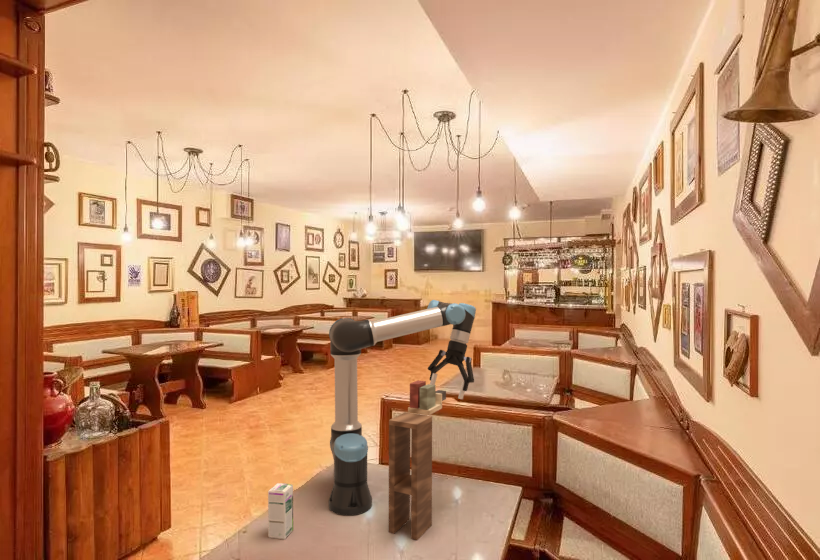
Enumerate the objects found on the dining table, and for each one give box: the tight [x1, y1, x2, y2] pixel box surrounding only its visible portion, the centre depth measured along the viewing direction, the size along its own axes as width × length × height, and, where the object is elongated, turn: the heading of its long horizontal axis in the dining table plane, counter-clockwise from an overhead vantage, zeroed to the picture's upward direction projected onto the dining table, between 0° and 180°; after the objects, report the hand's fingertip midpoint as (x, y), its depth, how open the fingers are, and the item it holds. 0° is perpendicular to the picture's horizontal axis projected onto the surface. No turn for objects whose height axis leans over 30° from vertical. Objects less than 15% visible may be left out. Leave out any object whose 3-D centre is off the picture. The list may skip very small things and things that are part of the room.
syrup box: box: [267, 482, 294, 540], centre depth 146 cm, size 6×6×14 cm
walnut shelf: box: [388, 412, 433, 541], centre depth 150 cm, size 10×10×35 cm
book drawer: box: [407, 379, 447, 416], centre depth 163 cm, size 8×19×10 cm, turn 152°
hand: (445, 394), depth 186 cm, fingers open, 13 cm apart
